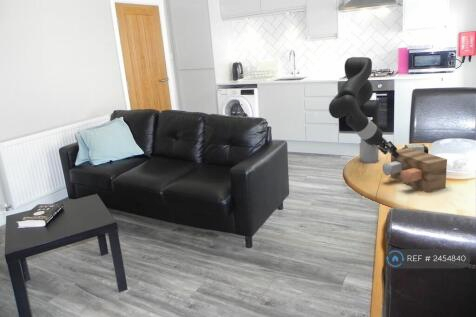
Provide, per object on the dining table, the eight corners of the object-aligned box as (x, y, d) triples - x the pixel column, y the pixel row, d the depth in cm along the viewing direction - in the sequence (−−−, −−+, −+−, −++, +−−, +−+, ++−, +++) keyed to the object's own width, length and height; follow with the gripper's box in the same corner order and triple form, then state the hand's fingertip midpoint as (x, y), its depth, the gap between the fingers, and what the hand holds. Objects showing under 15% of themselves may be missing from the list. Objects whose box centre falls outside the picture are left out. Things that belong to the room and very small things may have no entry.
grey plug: (382, 173, 188) (382, 161, 186) (401, 168, 191) (401, 157, 189) (390, 176, 183) (390, 164, 181) (410, 172, 186) (410, 160, 184)
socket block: (390, 177, 193) (391, 151, 190) (407, 173, 196) (408, 147, 193) (427, 192, 173) (428, 163, 169) (445, 187, 176) (447, 159, 172)
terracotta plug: (400, 180, 177) (400, 168, 175) (420, 175, 180) (421, 164, 178) (409, 184, 172) (410, 172, 170) (430, 179, 175) (430, 167, 173)
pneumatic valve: (427, 167, 202) (428, 144, 198) (403, 168, 204) (403, 145, 200) (425, 163, 207) (425, 141, 203) (400, 164, 209) (401, 142, 206)
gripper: (385, 126, 155) (409, 151, 162) (362, 121, 168) (385, 143, 175) (374, 142, 154) (398, 166, 161) (351, 135, 168) (375, 157, 175)
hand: (391, 154), depth 168 cm, fingers open, 6 cm apart
